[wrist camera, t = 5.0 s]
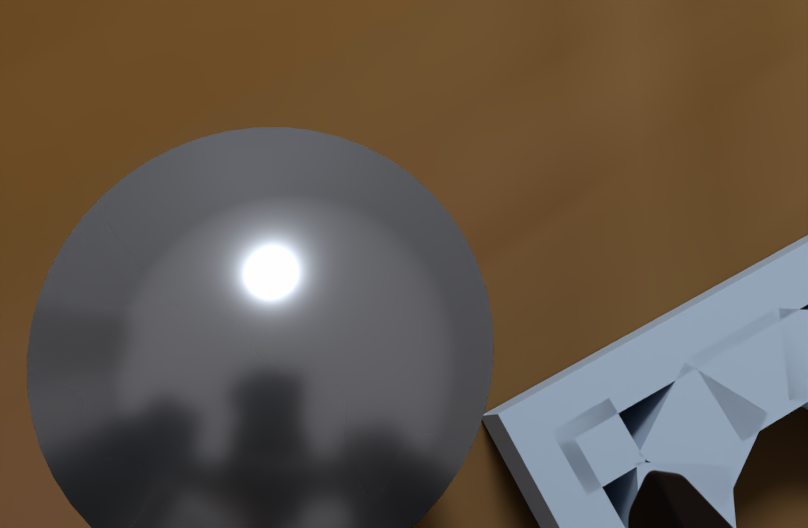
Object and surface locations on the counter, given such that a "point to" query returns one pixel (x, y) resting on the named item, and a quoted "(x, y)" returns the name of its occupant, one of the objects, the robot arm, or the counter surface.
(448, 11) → the counter surface
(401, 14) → the counter surface
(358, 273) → the round bit
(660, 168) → the counter surface
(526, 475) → the holder
